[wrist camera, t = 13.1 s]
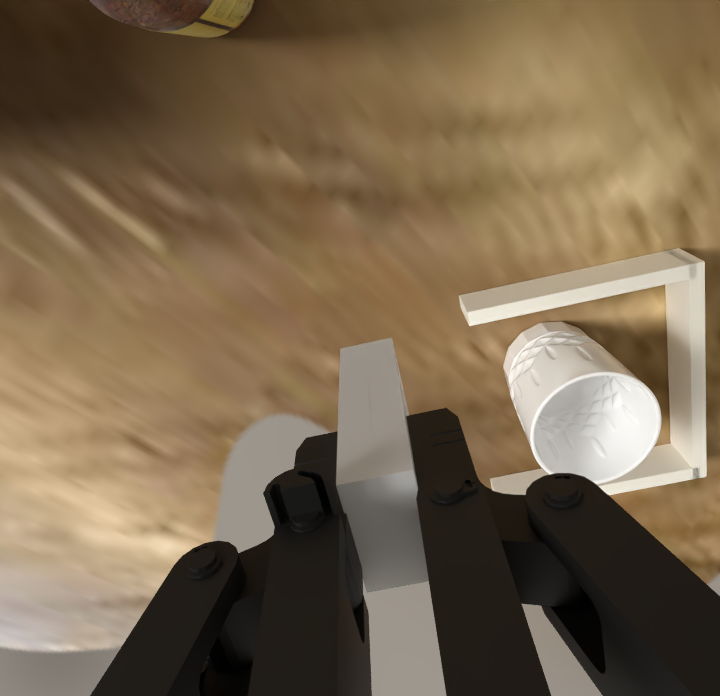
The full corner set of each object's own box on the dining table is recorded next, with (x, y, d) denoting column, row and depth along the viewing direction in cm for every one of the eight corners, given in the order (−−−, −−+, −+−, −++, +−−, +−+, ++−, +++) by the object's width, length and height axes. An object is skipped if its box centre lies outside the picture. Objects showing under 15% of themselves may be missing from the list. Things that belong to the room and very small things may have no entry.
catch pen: (491, 488, 52) (501, 515, 48) (458, 295, 45) (467, 312, 42) (683, 451, 51) (706, 476, 47) (678, 248, 44) (704, 261, 41)
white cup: (621, 364, 47) (686, 434, 38) (536, 426, 49) (578, 506, 40) (560, 291, 45) (614, 346, 36) (473, 359, 47) (504, 428, 38)
